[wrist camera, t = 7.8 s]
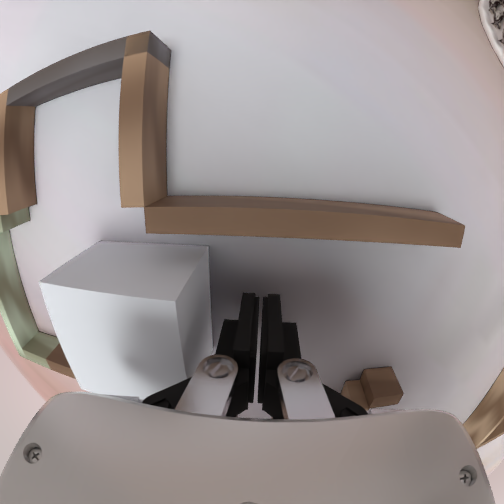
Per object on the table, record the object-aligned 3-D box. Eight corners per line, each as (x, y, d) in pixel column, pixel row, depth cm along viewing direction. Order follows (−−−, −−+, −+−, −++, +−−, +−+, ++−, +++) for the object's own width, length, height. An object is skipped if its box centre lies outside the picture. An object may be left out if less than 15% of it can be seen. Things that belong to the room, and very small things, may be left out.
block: (213, 347, 14) (194, 417, 10) (119, 333, 15) (81, 388, 10) (208, 245, 12) (175, 301, 8) (100, 240, 13) (38, 281, 8)
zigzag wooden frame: (357, 431, 17) (363, 454, 15) (64, 394, 18) (53, 410, 16) (440, 79, 9) (469, 70, 6) (-3, 113, 10) (-28, 114, 7)
